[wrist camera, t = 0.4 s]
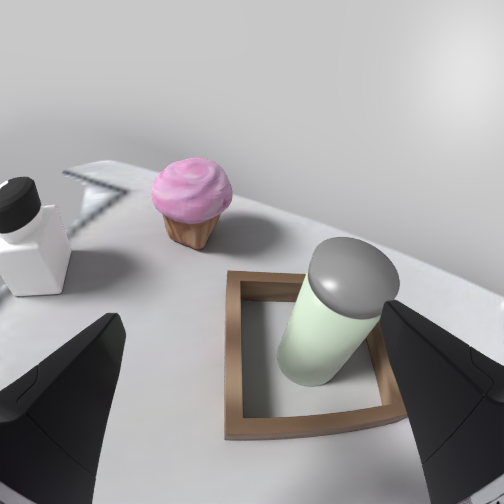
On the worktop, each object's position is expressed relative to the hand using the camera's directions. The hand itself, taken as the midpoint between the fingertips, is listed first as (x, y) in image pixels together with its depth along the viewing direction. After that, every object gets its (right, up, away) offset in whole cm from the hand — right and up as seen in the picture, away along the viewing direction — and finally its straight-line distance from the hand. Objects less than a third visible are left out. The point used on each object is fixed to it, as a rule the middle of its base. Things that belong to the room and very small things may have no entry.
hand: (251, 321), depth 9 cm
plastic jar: (+5, -8, +17) cm, 19 cm away
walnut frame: (+5, -8, +17) cm, 19 cm away
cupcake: (-7, +4, +27) cm, 28 cm away
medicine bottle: (-25, 0, +19) cm, 32 cm away
